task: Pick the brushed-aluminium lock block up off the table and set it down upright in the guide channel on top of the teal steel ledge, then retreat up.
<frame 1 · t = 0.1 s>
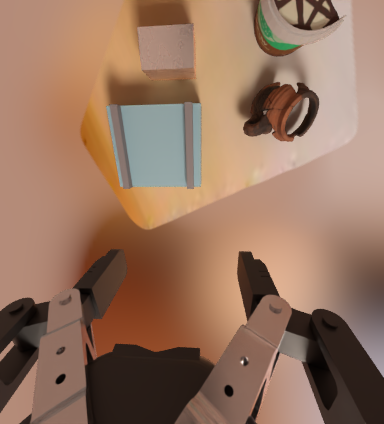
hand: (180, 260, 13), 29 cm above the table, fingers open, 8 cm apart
food container: (268, 35, 30), on the table
lock block: (172, 62, 32), on the table
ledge: (162, 147, 38), on the table
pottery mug: (269, 116, 34), on the table
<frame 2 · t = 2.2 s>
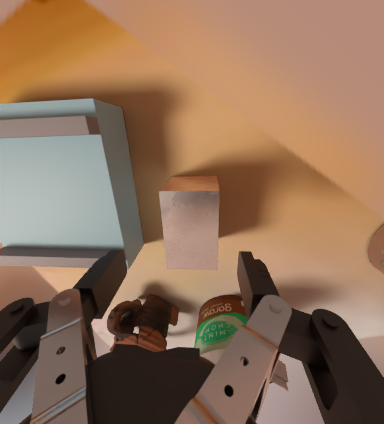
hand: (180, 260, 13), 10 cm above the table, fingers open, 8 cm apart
food container: (217, 305, 28), on the table
lock block: (195, 209, 22), on the table
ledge: (78, 186, 22), on the table
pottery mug: (148, 309, 30), on the table
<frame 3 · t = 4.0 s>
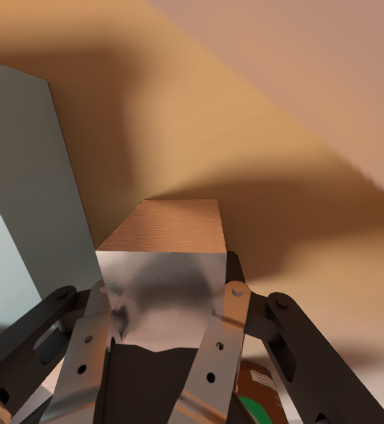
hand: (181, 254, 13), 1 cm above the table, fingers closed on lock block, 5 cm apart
food container: (217, 369, 20), on the table
lock block: (182, 249, 14), on the table, touching gripper
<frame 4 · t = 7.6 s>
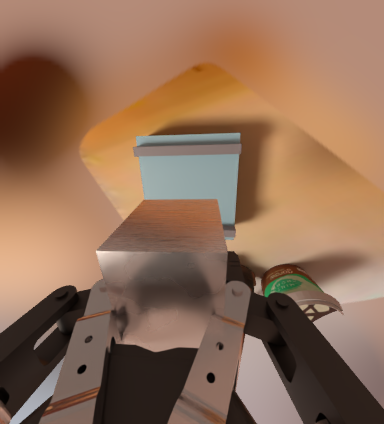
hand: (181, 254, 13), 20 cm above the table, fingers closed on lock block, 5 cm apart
food container: (276, 273, 38), on the table
lock block: (183, 249, 14), point 19 cm above the table, touching gripper
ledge: (191, 184, 32), on the table
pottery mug: (229, 276, 39), on the table
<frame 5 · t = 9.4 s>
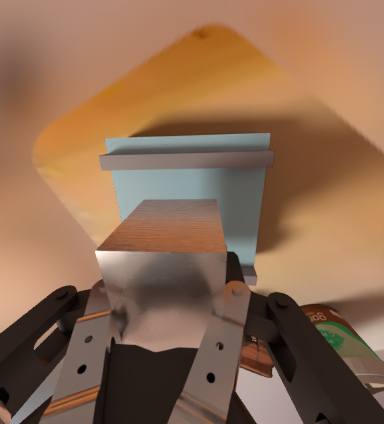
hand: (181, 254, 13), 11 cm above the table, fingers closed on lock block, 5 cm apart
food container: (300, 313, 29), on the table
lock block: (182, 249, 14), point 10 cm above the table, touching gripper
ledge: (191, 204, 23), on the table
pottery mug: (244, 316, 31), on the table
when the fingers open (7 cm above the table, at t = 11.0 s): lock block drops 1 cm, resting on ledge.
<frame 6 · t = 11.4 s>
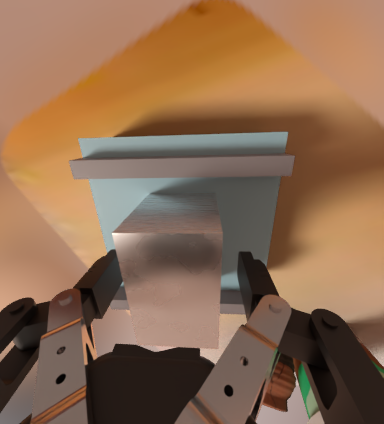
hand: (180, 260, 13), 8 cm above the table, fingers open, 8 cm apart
food container: (311, 334, 26), on the table
lock block: (184, 239, 15), point 5 cm above the table, touching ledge
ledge: (189, 214, 20), on the table
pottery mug: (252, 337, 27), on the table
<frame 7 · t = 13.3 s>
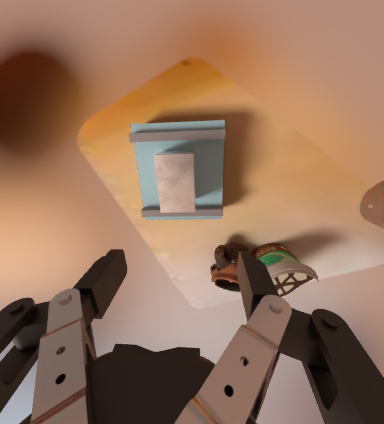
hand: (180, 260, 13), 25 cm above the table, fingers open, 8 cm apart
food container: (262, 252, 41), on the table
lock block: (180, 175, 30), point 5 cm above the table, touching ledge
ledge: (183, 170, 35), on the table
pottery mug: (228, 256, 42), on the table
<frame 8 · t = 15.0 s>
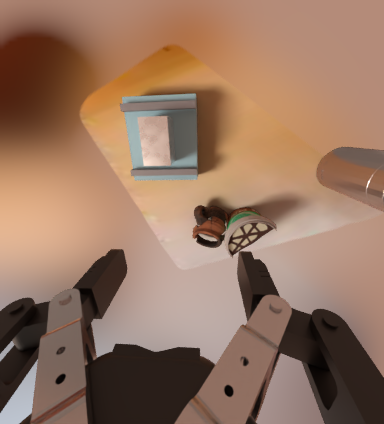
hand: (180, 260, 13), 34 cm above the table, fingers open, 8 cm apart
food container: (237, 215, 48), on the table
lock block: (162, 141, 37), point 5 cm above the table, touching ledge
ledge: (167, 140, 42), on the table
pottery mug: (208, 218, 49), on the table
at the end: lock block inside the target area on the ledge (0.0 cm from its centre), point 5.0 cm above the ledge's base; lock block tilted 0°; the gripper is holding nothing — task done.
